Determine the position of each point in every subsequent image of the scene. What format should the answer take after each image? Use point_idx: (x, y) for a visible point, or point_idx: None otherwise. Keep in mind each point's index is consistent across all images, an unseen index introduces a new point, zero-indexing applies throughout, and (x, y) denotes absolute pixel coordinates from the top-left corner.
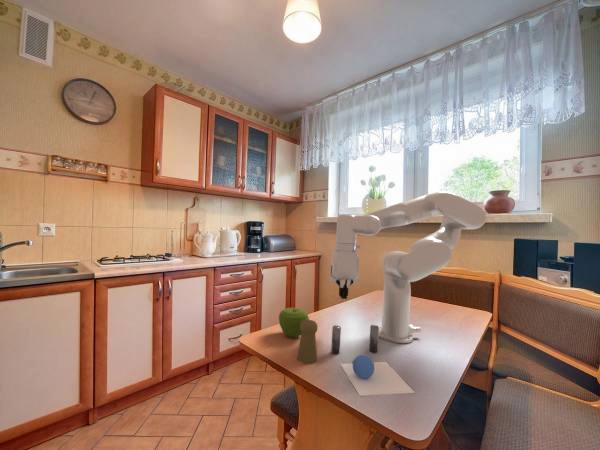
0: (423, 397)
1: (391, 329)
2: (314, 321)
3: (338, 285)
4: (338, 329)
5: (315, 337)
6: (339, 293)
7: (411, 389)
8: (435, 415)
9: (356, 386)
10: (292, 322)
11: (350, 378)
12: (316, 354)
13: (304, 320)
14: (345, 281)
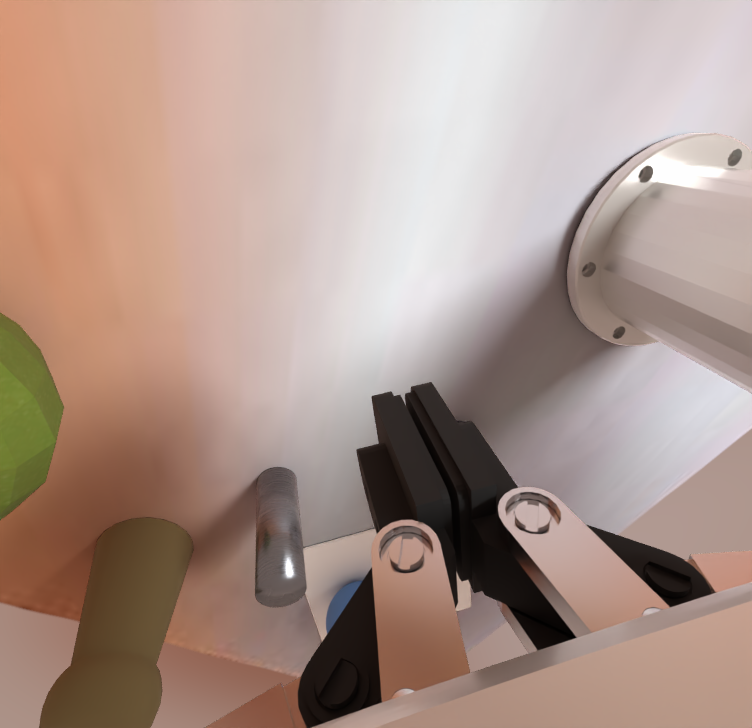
0: (482, 610)
1: (646, 332)
2: (130, 724)
3: (372, 566)
4: (290, 599)
5: (162, 641)
6: (364, 480)
7: (470, 600)
8: (472, 645)
9: (324, 629)
10: None
11: (313, 608)
12: (185, 573)
13: None
14: (553, 601)
